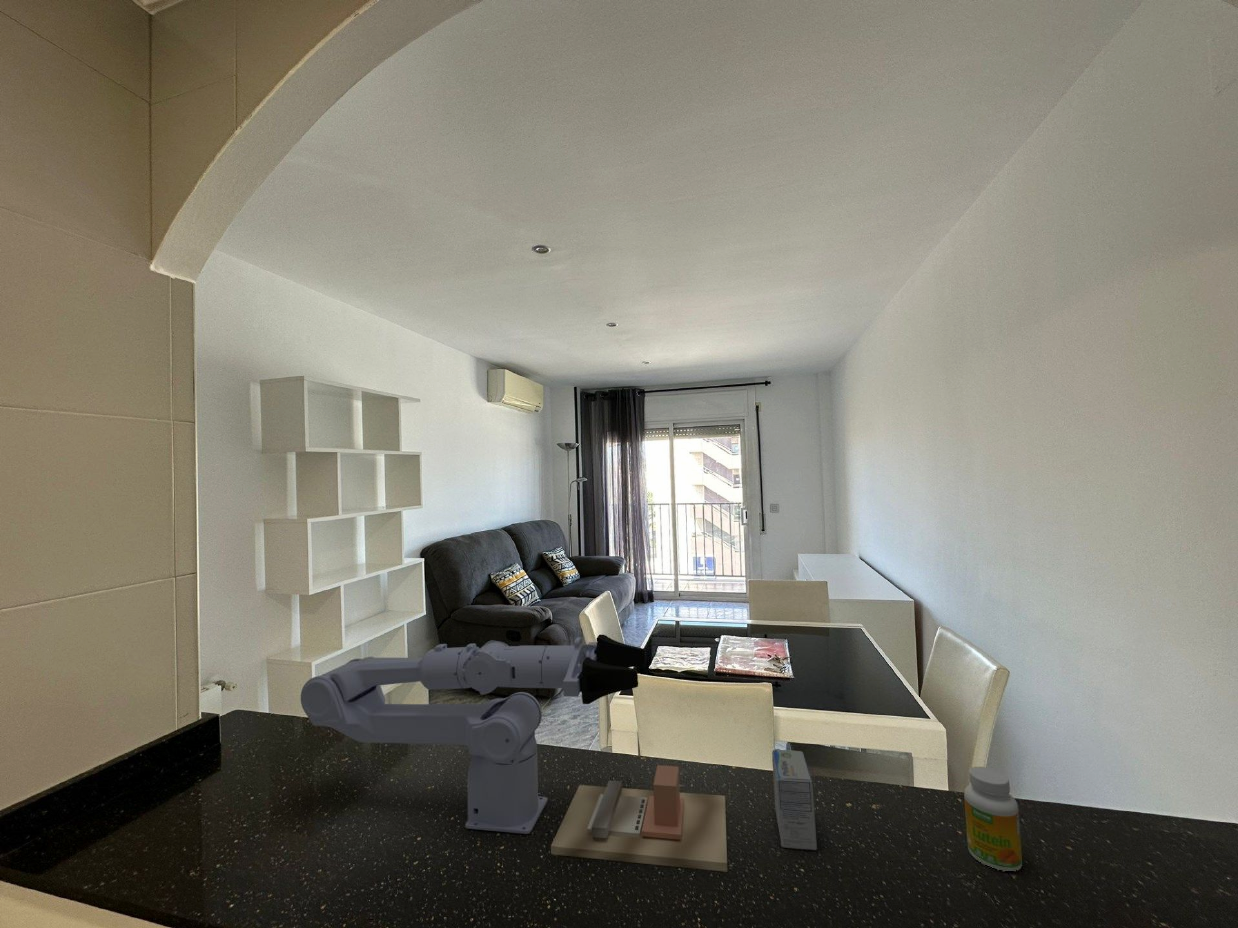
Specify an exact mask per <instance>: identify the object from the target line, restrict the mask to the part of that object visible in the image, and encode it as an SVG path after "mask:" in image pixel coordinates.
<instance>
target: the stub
mask: <svg viewBox="0 0 1238 928" xmlns="http://www.w3.org/2000/svg"><path fill="white" fill-rule="evenodd" d="M652 787H653V788H652V789H653V791H654V796H649V800H648V805H647V810H646V814H645V819H644V823H643V828H642V836H646V837H657V838H668V839H679V840H681V832H682V822H683V812H684V798H680V793H681V792H680V790H681V789H680V766H675V765H674V766H673V765H660V764H657V765H656V771H655V775H654V780H653V785H652Z"/></svg>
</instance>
